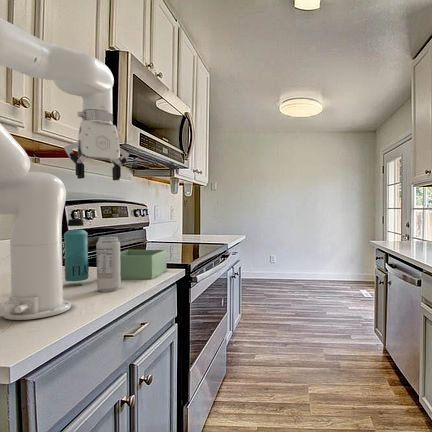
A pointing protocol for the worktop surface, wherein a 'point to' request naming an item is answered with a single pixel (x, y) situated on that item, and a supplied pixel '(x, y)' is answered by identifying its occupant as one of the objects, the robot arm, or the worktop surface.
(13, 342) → the worktop surface
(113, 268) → the energy drink can
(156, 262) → the green storage box
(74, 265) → the beverage bottle
